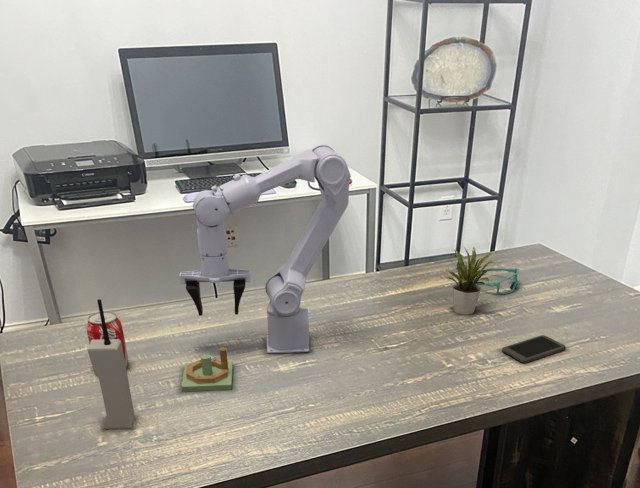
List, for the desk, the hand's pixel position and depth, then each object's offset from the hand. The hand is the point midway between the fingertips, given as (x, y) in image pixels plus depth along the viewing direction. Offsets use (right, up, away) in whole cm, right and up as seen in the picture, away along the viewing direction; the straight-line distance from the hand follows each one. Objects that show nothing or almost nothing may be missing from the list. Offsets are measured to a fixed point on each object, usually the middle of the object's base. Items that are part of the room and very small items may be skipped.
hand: (218, 313), depth 147 cm
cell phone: (+71, -7, +9) cm, 72 cm away
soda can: (-22, -12, -2) cm, 26 cm away
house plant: (+59, +5, +27) cm, 65 cm away
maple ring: (-1, -14, -6) cm, 15 cm away
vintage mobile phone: (-15, -24, -20) cm, 35 cm away
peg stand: (-1, -15, -5) cm, 15 cm away
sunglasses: (+68, +15, +42) cm, 82 cm away
